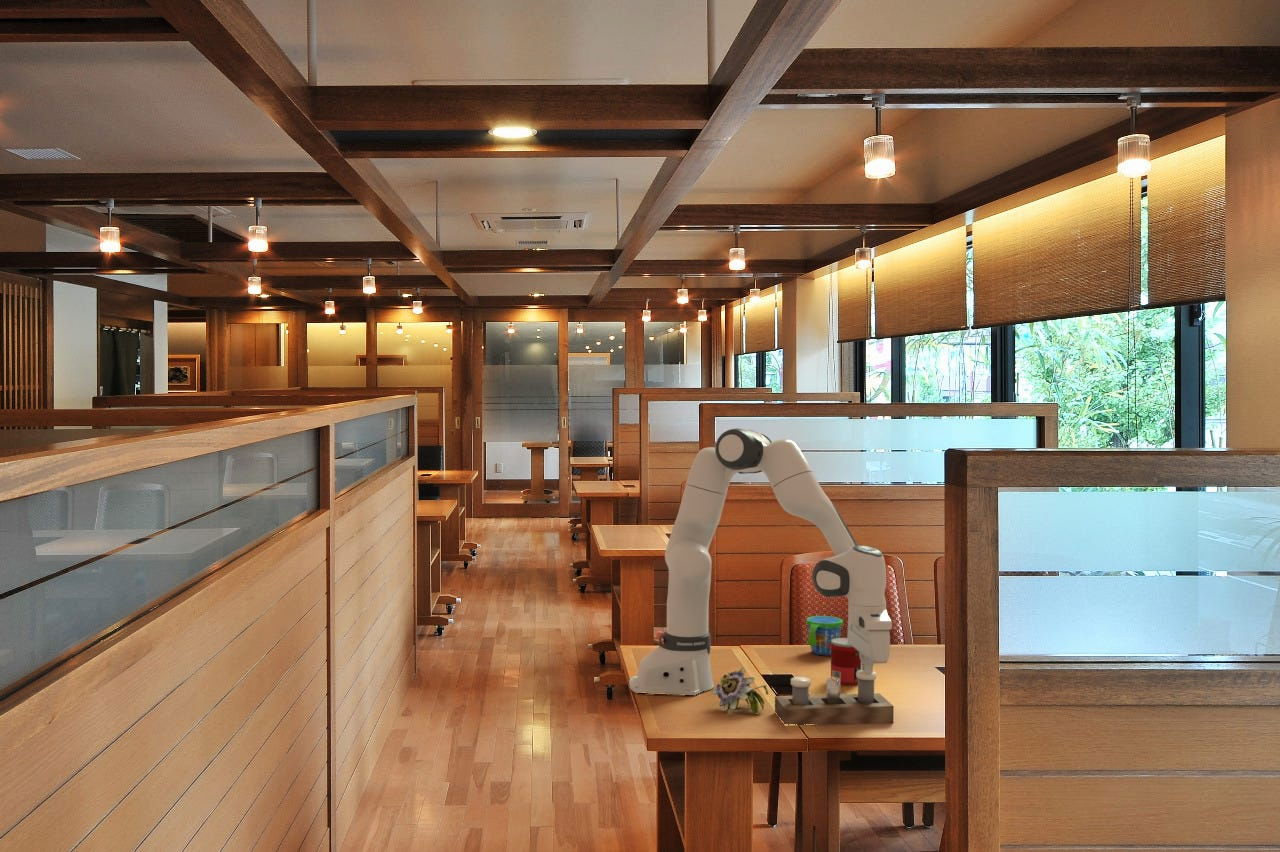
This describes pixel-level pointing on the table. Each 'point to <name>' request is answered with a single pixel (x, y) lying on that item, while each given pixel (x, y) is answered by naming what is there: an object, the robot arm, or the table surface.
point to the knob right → (865, 687)
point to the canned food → (844, 661)
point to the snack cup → (823, 633)
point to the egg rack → (834, 710)
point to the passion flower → (738, 691)
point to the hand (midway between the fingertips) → (867, 672)
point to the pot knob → (833, 690)
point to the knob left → (800, 690)
